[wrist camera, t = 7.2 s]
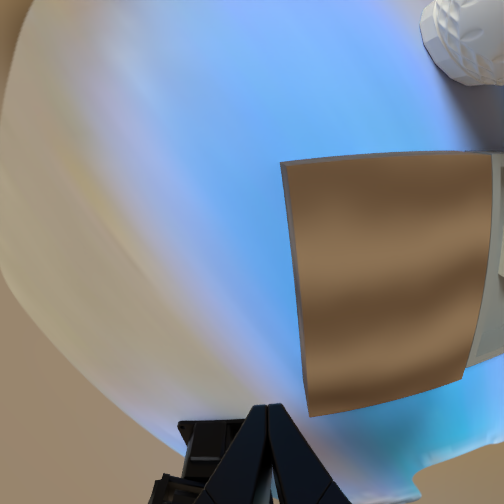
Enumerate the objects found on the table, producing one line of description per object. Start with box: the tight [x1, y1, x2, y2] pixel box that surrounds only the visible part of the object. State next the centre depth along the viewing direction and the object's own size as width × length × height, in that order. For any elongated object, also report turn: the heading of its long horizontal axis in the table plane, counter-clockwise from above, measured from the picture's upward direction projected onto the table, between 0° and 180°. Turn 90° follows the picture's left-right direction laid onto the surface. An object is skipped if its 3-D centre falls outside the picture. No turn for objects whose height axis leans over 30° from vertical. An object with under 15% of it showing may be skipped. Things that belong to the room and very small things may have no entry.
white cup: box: [419, 0, 504, 86], centre depth 9 cm, size 8×8×10 cm
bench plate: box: [280, 151, 492, 417], centre depth 18 cm, size 16×12×4 cm
